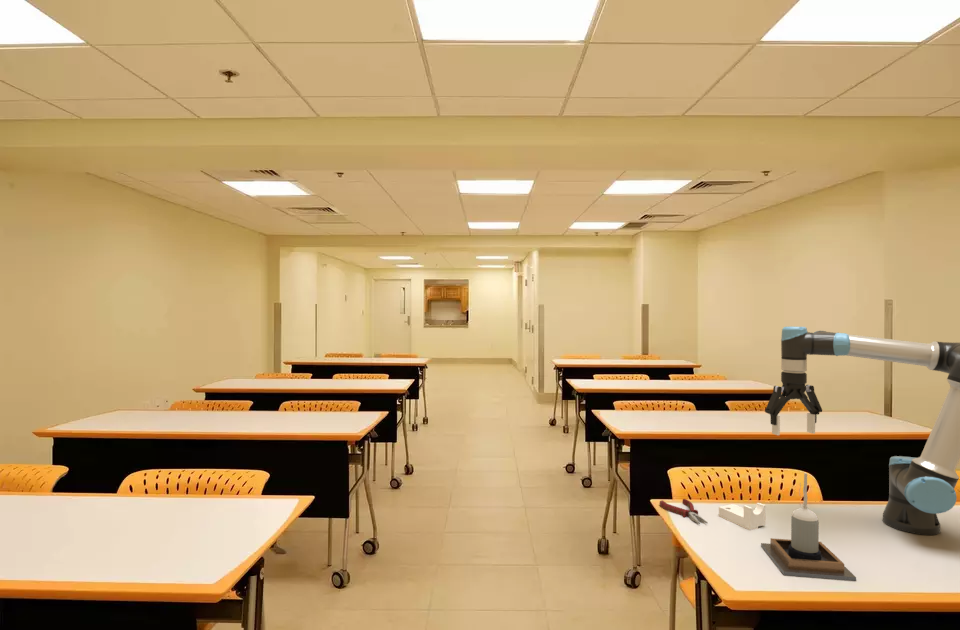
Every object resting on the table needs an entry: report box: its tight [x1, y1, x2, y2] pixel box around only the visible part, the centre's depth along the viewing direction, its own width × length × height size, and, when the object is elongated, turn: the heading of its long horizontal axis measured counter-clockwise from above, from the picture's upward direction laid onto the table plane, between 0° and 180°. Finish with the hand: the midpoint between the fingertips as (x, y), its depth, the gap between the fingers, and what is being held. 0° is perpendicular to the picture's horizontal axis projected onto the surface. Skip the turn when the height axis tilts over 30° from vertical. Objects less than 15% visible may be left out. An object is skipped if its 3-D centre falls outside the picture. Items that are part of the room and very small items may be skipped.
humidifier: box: [788, 472, 821, 561], centre depth 153 cm, size 8×8×25 cm
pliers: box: [659, 498, 709, 525], centre depth 189 cm, size 12×20×3 cm, turn 10°
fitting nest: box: [760, 537, 857, 582], centre depth 153 cm, size 18×18×4 cm
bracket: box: [718, 502, 767, 531], centre depth 183 cm, size 13×7×8 cm, turn 22°
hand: (793, 433), depth 181 cm, fingers open, 13 cm apart
